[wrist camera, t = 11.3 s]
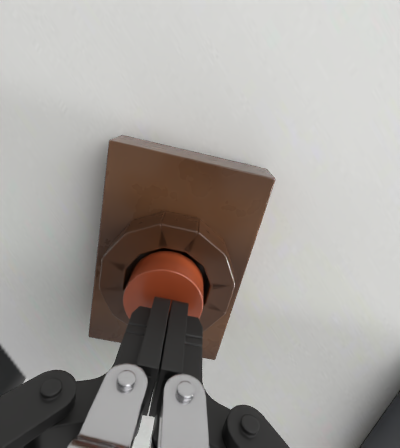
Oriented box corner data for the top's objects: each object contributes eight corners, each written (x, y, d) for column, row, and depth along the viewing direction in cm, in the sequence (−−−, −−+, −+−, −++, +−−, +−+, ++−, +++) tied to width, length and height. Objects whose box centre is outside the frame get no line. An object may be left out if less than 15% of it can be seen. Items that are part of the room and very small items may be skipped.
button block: (214, 335, 21) (216, 386, 17) (100, 313, 20) (76, 361, 16) (267, 168, 16) (285, 189, 12) (121, 134, 15) (95, 145, 12)
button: (194, 316, 16) (193, 342, 14) (127, 303, 15) (118, 327, 14) (210, 259, 14) (211, 279, 13) (136, 243, 14) (128, 262, 12)
